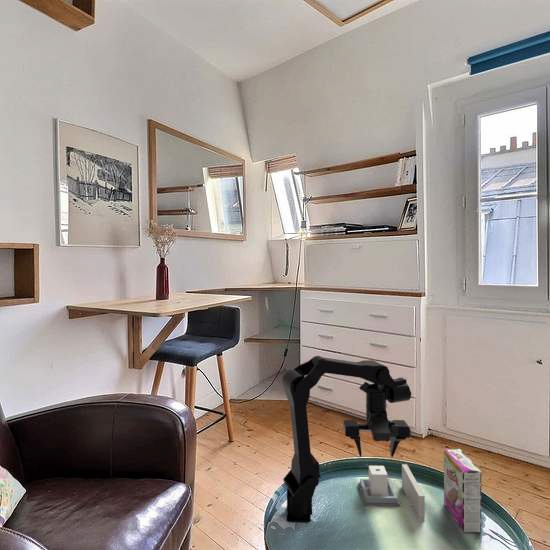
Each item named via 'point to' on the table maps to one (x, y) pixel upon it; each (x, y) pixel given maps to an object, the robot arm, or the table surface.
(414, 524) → the table surface
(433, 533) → the table surface
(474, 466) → the candy bar box
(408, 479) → the wall stub
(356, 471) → the table surface
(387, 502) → the frame
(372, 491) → the block
